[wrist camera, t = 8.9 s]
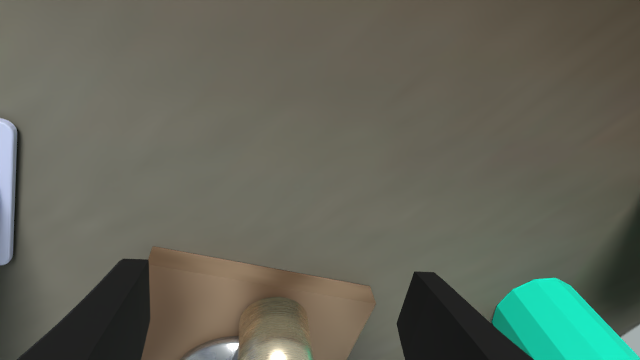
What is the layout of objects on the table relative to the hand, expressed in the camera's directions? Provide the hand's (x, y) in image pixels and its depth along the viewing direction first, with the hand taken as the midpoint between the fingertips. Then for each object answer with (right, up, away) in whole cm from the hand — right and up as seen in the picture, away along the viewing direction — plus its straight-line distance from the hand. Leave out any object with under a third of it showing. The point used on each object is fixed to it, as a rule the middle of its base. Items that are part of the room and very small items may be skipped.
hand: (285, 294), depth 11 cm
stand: (-4, -8, +15) cm, 18 cm away
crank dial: (-3, -7, +13) cm, 16 cm away
